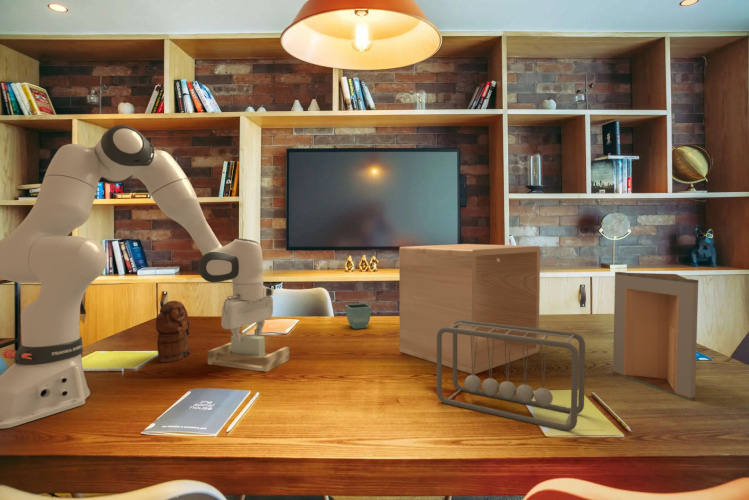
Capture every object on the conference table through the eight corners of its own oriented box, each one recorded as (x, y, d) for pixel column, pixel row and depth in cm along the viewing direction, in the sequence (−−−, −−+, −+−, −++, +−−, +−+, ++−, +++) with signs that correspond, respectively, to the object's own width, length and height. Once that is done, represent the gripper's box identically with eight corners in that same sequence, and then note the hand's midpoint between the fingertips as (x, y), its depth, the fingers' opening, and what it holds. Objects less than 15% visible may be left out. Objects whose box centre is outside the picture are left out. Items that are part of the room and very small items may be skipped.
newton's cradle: (435, 402, 103) (435, 326, 102) (453, 388, 112) (453, 318, 111) (576, 434, 86) (577, 344, 86) (584, 415, 95) (585, 333, 94)
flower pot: (345, 326, 183) (344, 304, 183) (365, 324, 186) (365, 303, 185) (350, 330, 175) (350, 308, 174) (371, 329, 177) (371, 306, 177)
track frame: (266, 371, 125) (266, 357, 125) (207, 364, 133) (207, 350, 132) (289, 359, 136) (289, 347, 136) (234, 353, 144) (233, 341, 144)
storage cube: (471, 375, 121) (472, 250, 120) (399, 352, 144) (399, 246, 142) (538, 352, 143) (540, 246, 142) (467, 335, 166) (467, 243, 164)
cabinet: (613, 373, 122) (615, 272, 121) (638, 369, 126) (640, 270, 124) (690, 400, 103) (693, 280, 101) (717, 394, 106) (721, 278, 105)
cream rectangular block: (259, 362, 131) (258, 339, 131) (231, 359, 135) (231, 336, 135) (265, 359, 134) (264, 336, 134) (237, 356, 138) (237, 334, 137)
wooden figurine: (175, 363, 134) (173, 304, 133) (154, 363, 134) (153, 304, 133) (194, 352, 145) (192, 298, 144) (175, 352, 146) (174, 297, 145)
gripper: (233, 297, 122) (234, 347, 123) (276, 289, 141) (276, 332, 141) (215, 296, 124) (216, 345, 125) (259, 288, 143) (260, 330, 144)
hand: (248, 338), depth 133 cm, fingers open, 8 cm apart
